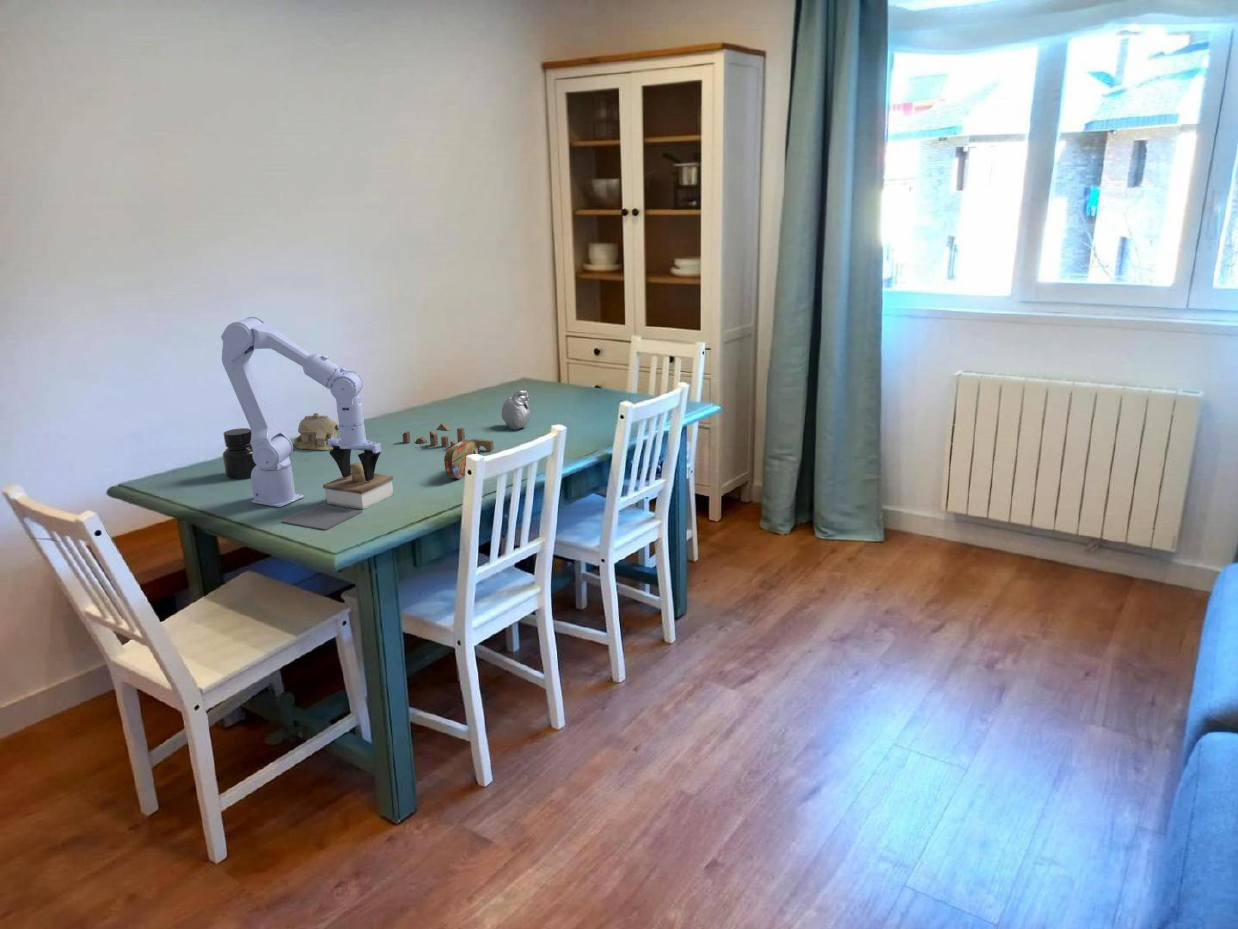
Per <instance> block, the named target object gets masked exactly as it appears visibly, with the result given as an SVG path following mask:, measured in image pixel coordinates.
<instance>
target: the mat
mask: <svg viewBox="0 0 1238 929" xmlns="http://www.w3.org/2000/svg"><path fill="white" fill-rule="evenodd" d="M362 513H363V510H359V509H357V510H356V509H353V508H347V507H341V506H339V507H338V506H335V505H329V504H328V505H327V504H320V503H319V504H316V505H314V506H311V507H310V508H307V509H305V510H303V511H301V512H299V513H297V514H295V515H293V516H290V517H288V518H285V519H283V520H281V523H283V524H288V525H292V526H299V527H306V528H311V529H317V530H322V531H327V530H330V529H332V528H334V527H335V526H337V525H340V524H342V523H344V522H345V521H347V520H349V519H352V518H354V517H355V516H358V515H360V514H362Z"/></svg>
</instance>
